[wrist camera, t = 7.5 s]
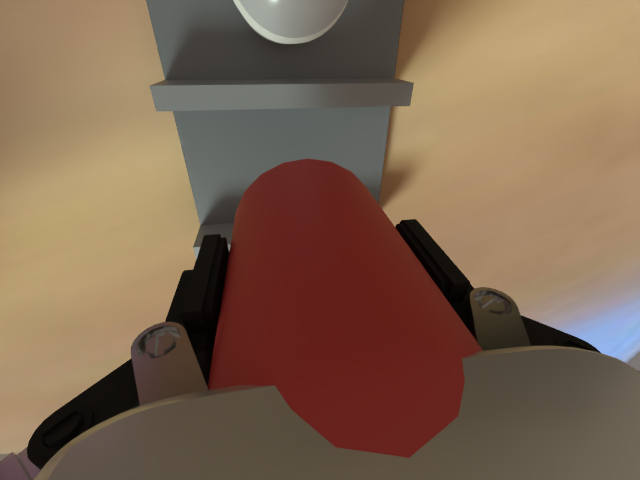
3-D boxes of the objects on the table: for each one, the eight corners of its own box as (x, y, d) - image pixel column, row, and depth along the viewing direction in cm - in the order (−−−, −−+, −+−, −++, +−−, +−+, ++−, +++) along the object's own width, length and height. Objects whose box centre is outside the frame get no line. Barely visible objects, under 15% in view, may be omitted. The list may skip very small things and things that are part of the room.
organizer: (372, 219, 26) (388, 244, 23) (205, 231, 24) (197, 261, 21) (414, -147, 15) (457, -201, 12) (109, -178, 13) (58, -253, 10)
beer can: (226, 154, 12) (83, 592, 3) (379, 152, 13) (707, 461, 4) (243, 277, 16) (210, 659, 6) (362, 268, 17) (502, 585, 7)
